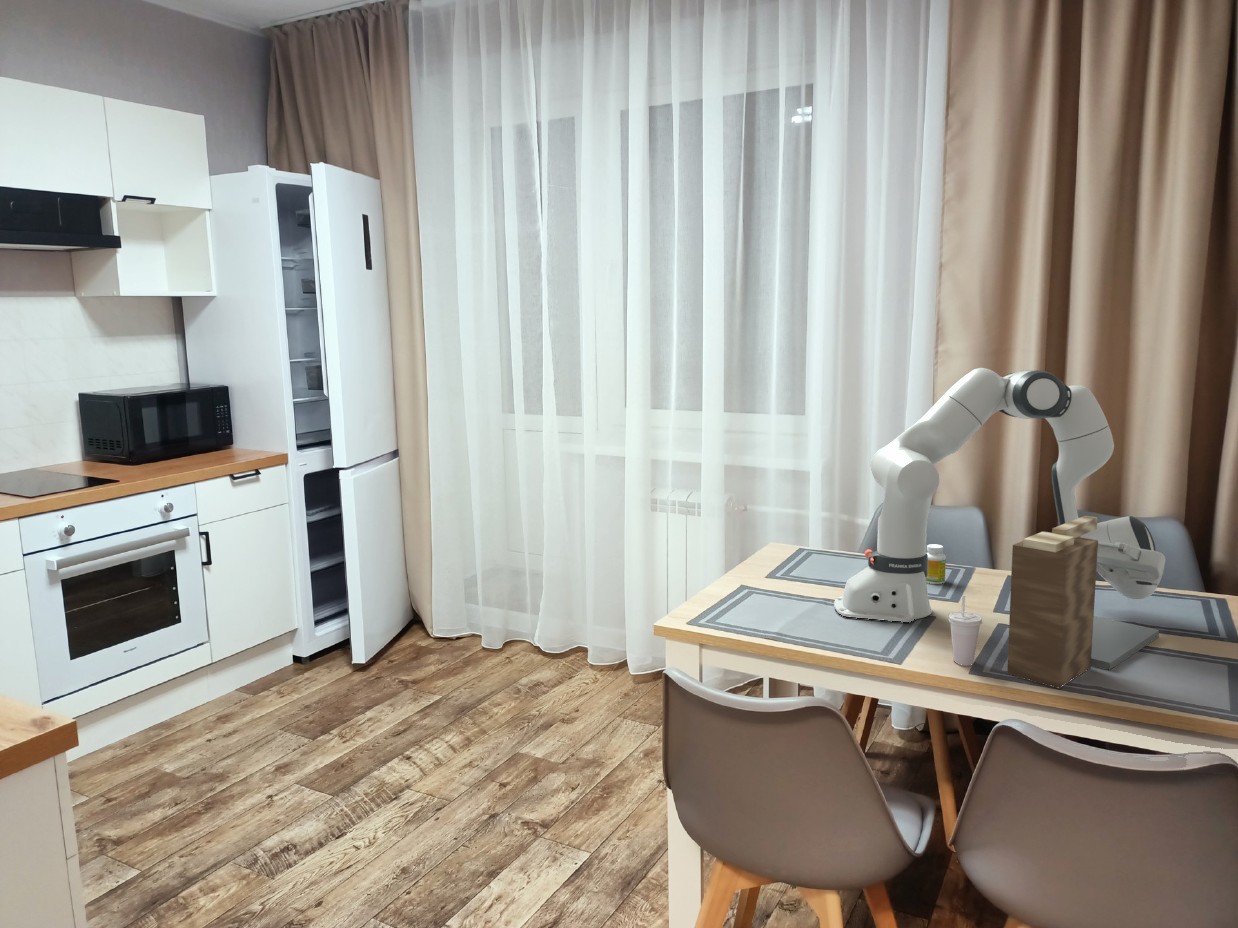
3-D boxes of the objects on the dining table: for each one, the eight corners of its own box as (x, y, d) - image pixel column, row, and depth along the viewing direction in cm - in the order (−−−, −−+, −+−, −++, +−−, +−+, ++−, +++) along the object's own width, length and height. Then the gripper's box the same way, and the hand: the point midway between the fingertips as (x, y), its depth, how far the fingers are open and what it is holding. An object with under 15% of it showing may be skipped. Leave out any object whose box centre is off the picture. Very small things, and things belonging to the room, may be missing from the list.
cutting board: (1081, 619, 204) (1081, 612, 203) (1158, 636, 192) (1159, 630, 191) (1028, 649, 187) (1028, 642, 187) (1109, 670, 175) (1110, 662, 175)
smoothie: (941, 657, 184) (943, 591, 182) (971, 655, 185) (974, 590, 182) (955, 669, 178) (958, 601, 175) (986, 667, 178) (989, 599, 176)
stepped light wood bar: (1075, 525, 184) (1075, 514, 183) (1106, 530, 179) (1106, 518, 179) (1023, 546, 169) (1023, 534, 169) (1055, 552, 165) (1056, 539, 164)
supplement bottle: (942, 585, 231) (943, 549, 230) (921, 583, 234) (922, 547, 233) (947, 580, 236) (948, 544, 234) (926, 577, 239) (927, 542, 237)
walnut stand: (1039, 654, 184) (1045, 531, 180) (1090, 668, 176) (1098, 540, 172) (1007, 673, 175) (1012, 544, 171) (1059, 688, 167) (1066, 554, 163)
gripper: (1073, 542, 203) (1051, 521, 194) (1174, 559, 187) (1155, 537, 178) (1065, 568, 201) (1043, 548, 193) (1166, 587, 186) (1147, 566, 177)
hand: (1098, 543), depth 185 cm, fingers open, 8 cm apart
